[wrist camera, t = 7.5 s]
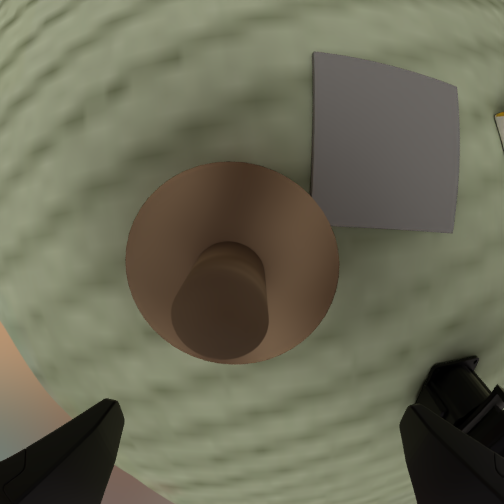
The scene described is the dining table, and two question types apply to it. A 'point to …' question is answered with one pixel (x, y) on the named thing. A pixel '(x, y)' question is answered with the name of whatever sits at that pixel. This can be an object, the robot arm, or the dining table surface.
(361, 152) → the mat
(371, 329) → the dining table surface
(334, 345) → the dining table surface
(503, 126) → the white boxy piece
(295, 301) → the lid
